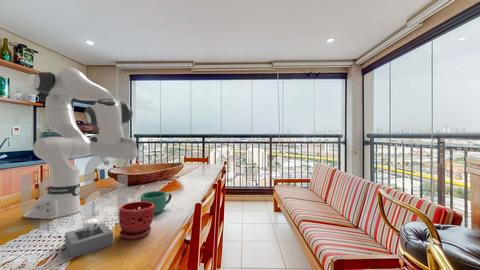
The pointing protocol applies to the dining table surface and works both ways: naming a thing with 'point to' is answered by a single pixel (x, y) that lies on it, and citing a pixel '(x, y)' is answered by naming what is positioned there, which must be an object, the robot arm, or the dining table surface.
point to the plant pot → (135, 219)
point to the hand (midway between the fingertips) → (116, 165)
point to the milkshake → (90, 227)
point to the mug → (156, 199)
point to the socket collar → (87, 240)
